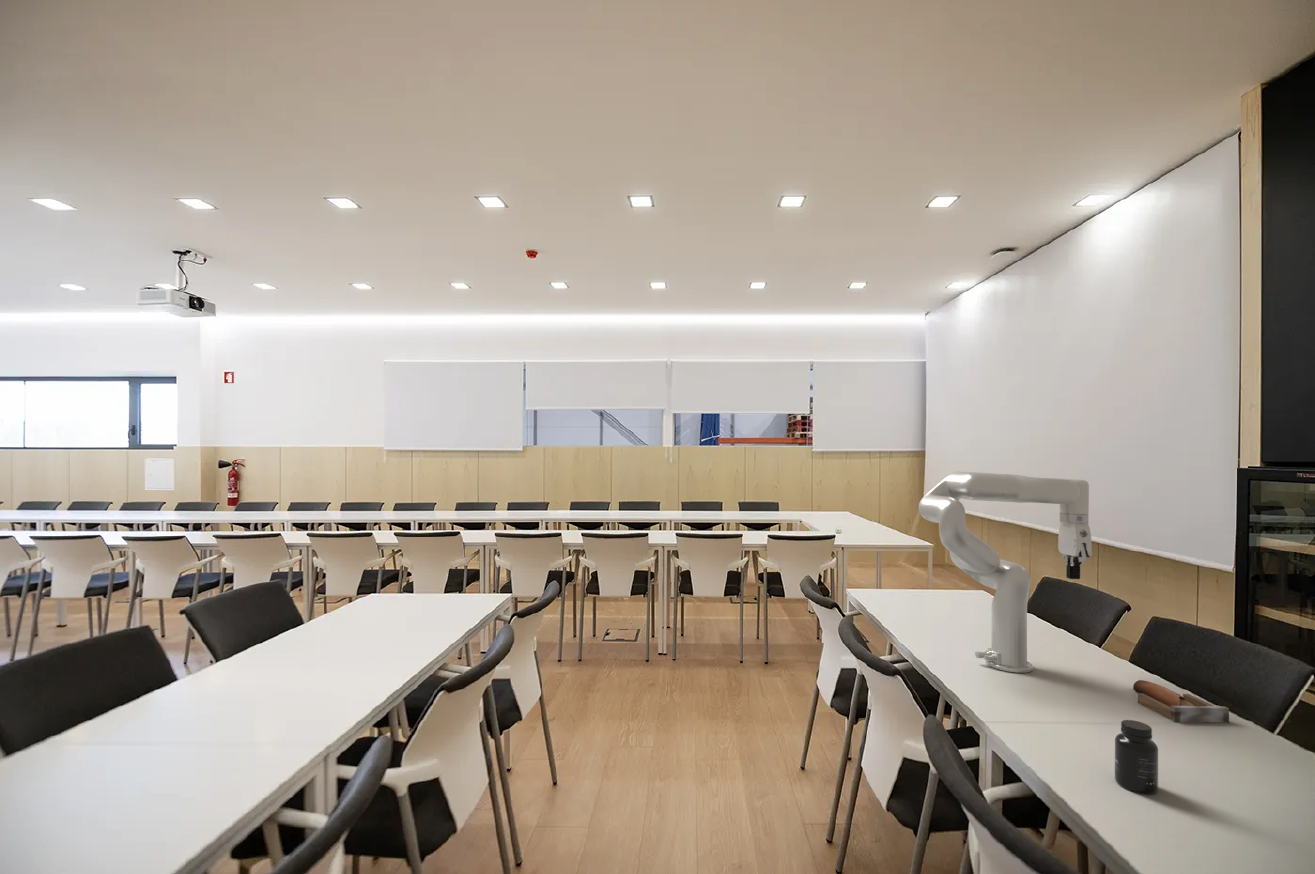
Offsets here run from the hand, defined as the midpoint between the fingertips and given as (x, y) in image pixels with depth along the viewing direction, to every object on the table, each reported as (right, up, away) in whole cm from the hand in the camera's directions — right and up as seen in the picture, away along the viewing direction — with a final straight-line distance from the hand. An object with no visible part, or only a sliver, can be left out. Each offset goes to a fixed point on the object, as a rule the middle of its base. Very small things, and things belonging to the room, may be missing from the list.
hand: (1073, 578), depth 196 cm
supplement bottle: (-35, -25, -72) cm, 84 cm away
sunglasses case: (+5, -27, -31) cm, 41 cm away
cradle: (+4, -26, -36) cm, 44 cm away
